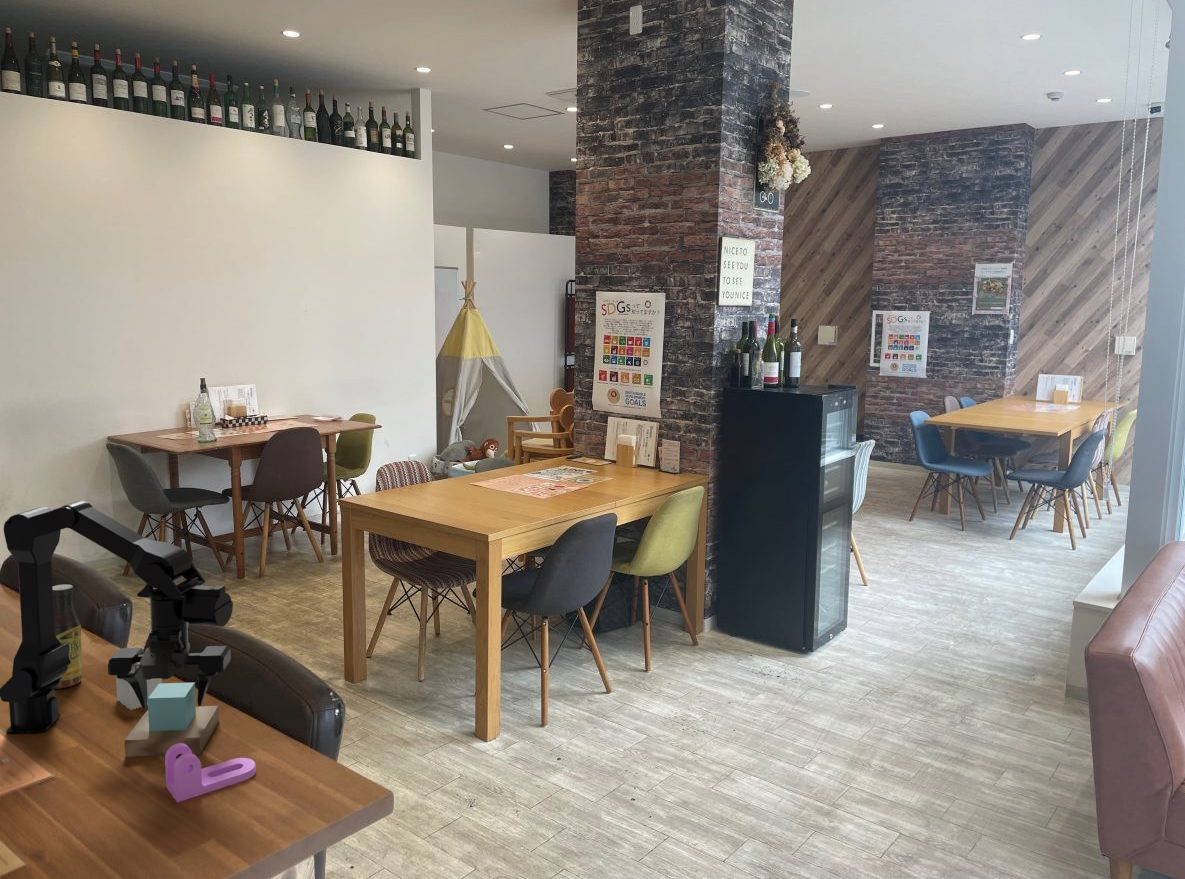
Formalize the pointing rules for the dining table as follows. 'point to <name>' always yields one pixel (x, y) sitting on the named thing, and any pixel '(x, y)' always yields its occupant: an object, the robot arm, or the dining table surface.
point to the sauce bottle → (68, 633)
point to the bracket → (201, 773)
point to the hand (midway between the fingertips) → (172, 706)
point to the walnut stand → (172, 734)
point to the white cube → (128, 695)
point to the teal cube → (171, 706)
